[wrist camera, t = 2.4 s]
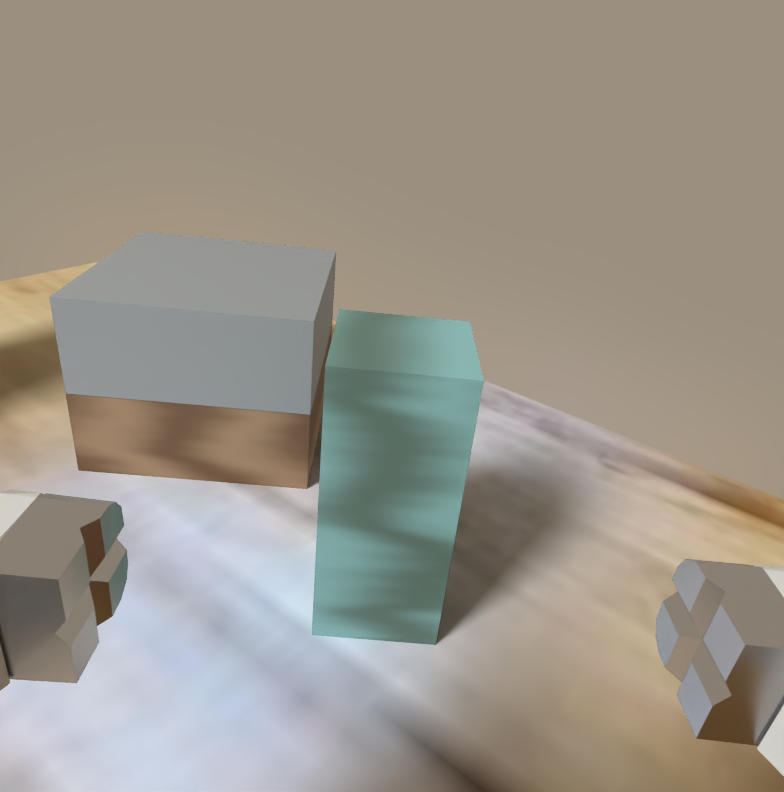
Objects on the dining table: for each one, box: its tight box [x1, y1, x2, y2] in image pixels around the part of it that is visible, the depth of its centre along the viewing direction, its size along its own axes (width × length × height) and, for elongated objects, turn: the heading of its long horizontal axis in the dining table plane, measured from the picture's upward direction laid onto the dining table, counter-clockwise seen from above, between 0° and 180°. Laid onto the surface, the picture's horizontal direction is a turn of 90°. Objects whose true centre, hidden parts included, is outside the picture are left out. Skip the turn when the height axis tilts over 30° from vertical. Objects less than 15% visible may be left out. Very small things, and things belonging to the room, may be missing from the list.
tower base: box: [66, 327, 332, 489], centre depth 38 cm, size 12×12×5 cm
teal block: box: [312, 309, 484, 645], centre depth 25 cm, size 5×5×12 cm
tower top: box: [49, 232, 336, 415], centre depth 35 cm, size 12×12×5 cm
